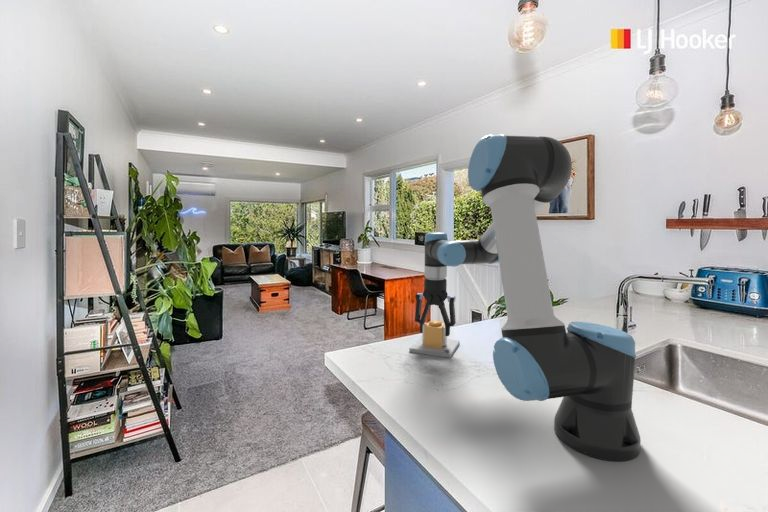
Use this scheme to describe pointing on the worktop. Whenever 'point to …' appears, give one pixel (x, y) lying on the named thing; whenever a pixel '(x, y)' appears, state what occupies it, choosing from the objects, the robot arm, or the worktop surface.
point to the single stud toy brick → (433, 334)
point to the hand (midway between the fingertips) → (434, 343)
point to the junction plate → (444, 351)
